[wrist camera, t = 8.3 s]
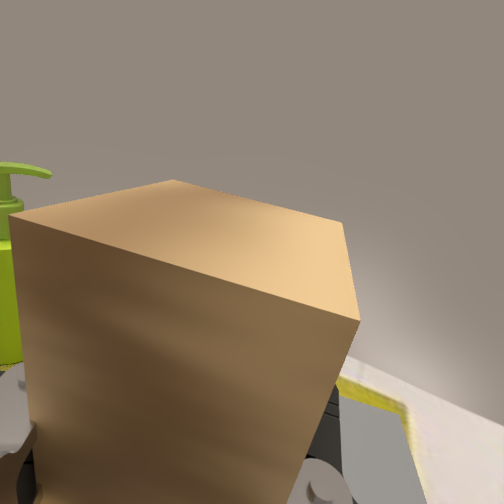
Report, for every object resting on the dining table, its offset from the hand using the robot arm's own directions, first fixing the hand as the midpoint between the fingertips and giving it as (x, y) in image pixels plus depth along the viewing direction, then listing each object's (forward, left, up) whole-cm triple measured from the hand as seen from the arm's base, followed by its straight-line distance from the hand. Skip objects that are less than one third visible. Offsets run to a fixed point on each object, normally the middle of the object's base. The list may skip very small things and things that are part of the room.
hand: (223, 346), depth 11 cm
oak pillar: (0, +3, -7) cm, 7 cm away
